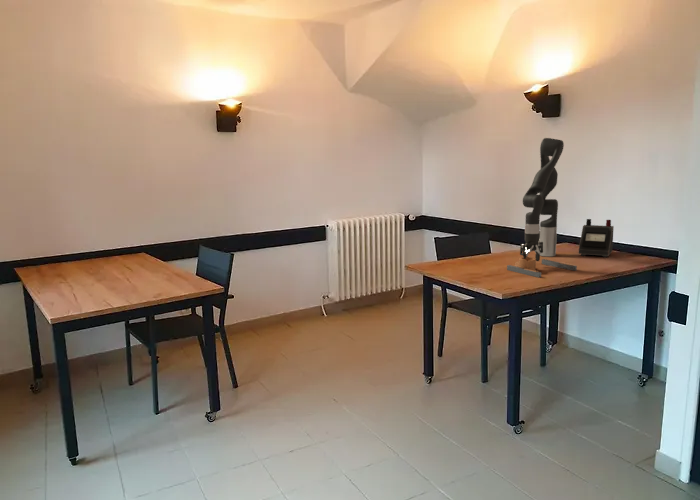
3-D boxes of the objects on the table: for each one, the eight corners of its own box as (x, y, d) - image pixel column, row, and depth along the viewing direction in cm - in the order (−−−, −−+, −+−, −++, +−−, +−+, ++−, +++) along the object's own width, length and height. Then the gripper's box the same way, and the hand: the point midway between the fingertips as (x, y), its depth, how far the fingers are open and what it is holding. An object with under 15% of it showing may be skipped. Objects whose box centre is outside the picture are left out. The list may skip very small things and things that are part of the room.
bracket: (537, 273, 284) (537, 260, 283) (520, 273, 285) (520, 260, 283) (529, 266, 301) (529, 253, 300) (513, 266, 302) (513, 253, 301)
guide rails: (506, 269, 293) (507, 264, 293) (543, 263, 306) (543, 258, 305) (538, 277, 274) (539, 272, 273) (576, 270, 286) (576, 265, 286)
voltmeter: (578, 256, 322) (579, 222, 319) (583, 251, 336) (584, 218, 333) (608, 258, 314) (610, 223, 310) (612, 253, 328) (613, 219, 324)
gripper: (536, 229, 299) (535, 259, 302) (516, 232, 292) (516, 262, 295) (547, 231, 292) (546, 261, 295) (527, 234, 286) (526, 265, 289)
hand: (531, 262), depth 295 cm, fingers open, 8 cm apart
